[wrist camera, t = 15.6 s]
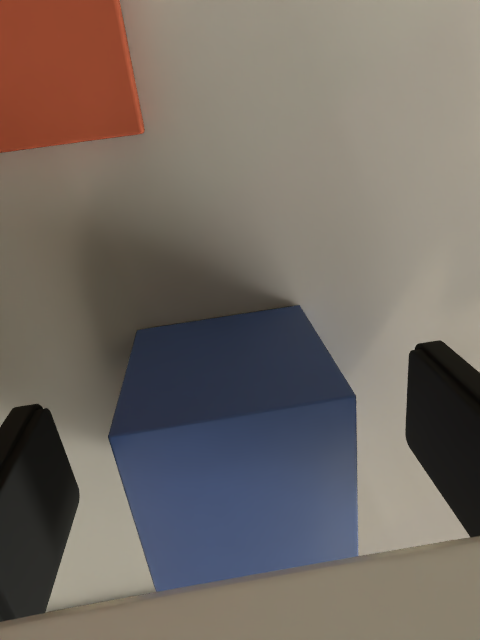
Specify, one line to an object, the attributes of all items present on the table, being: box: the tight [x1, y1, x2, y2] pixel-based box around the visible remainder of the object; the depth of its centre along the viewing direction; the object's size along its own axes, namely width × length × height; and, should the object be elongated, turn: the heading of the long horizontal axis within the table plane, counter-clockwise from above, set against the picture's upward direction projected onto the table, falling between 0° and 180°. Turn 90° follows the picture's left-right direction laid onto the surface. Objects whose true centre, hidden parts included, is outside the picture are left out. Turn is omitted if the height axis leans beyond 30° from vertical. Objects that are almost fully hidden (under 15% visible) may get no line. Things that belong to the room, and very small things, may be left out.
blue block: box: [108, 305, 358, 592], centre depth 11 cm, size 4×4×4 cm
